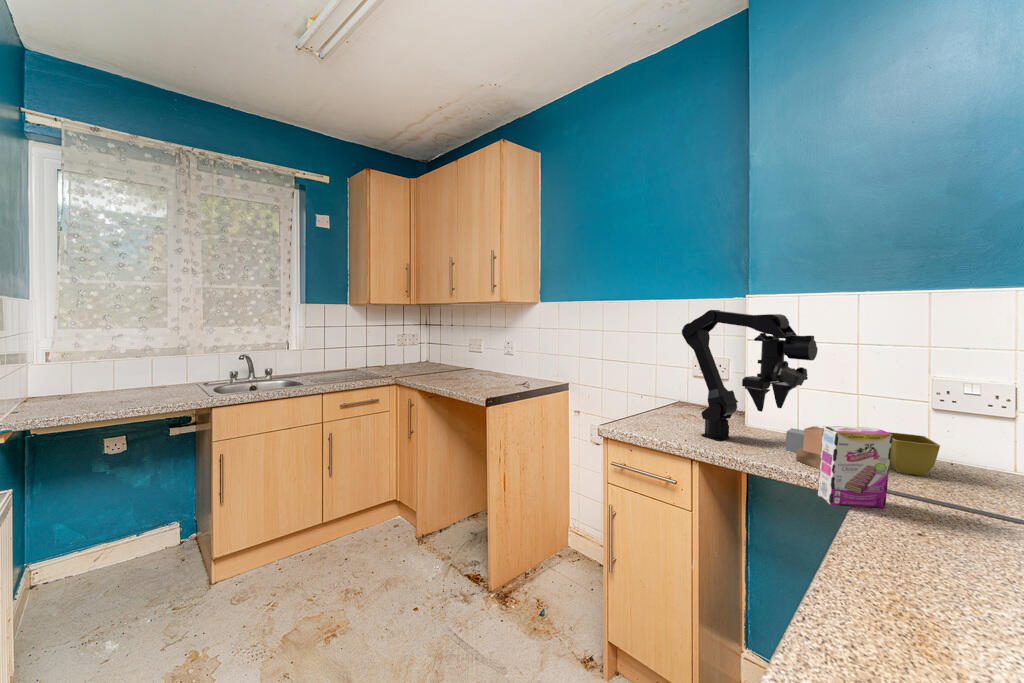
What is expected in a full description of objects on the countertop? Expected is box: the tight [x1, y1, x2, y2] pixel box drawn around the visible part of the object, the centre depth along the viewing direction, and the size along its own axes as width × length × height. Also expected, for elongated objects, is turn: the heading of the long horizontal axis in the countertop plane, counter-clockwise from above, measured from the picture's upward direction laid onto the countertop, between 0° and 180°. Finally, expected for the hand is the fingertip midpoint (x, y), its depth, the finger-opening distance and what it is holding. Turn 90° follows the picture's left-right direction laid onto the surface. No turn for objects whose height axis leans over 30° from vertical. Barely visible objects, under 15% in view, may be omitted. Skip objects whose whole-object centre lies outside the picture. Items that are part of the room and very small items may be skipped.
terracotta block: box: [803, 425, 823, 455], centre depth 113 cm, size 5×5×6 cm
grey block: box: [785, 428, 804, 454], centre depth 124 cm, size 5×5×6 cm
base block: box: [795, 448, 821, 471], centre depth 113 cm, size 7×7×4 cm
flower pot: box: [887, 431, 941, 477], centre depth 109 cm, size 9×9×9 cm
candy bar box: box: [817, 425, 892, 509], centre depth 91 cm, size 11×5×16 cm, turn 84°
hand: (769, 409), depth 124 cm, fingers open, 9 cm apart
